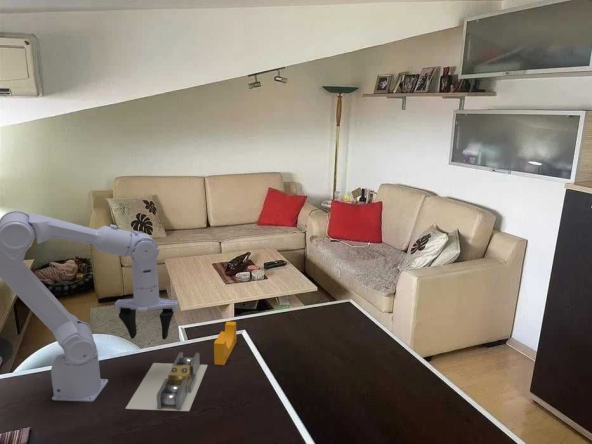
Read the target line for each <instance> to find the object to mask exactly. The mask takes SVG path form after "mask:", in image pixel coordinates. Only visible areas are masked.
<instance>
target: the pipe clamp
mask: <svg viewBox="0 0 592 444" xmlns="http://www.w3.org/2000/svg"><path fill="white" fill-rule="evenodd" d="M236 343H237V322H236V321H228V320H227V321H226V322H225V324H224V331H223V330H221V331H220V332H219V335H218V336H217V338H216V339H215V340H214V342H213V358H214V361H213V362H214V365H218V366H225V364H226V362H227V360H229V359H228V358H229V357H230V356H231V353H232V351H233V349H234V348H235V345H236Z"/></svg>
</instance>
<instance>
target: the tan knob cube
mask: <svg viewBox="0 0 592 444" xmlns="http://www.w3.org/2000/svg"><path fill="white" fill-rule="evenodd" d="M168 378H169V385H181V384H182V382H183V380H184V379H185V380H187V388H188V386H189V384H190V382H191V374H190V366H177V365H173V367H172V369H171V371H170V373H169V375H168Z"/></svg>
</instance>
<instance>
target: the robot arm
mask: <svg viewBox="0 0 592 444" xmlns="http://www.w3.org/2000/svg"><path fill="white" fill-rule="evenodd" d="M35 239H36V243H37V245H39V244H41V243H44V242H47V241H48V240H50V239H51V240H52V239H58V240H65V241H71V242H76V243H77V242H78V243H84V244H89V245H93V246H94V248H95V250H96V251H97V252H100V253H104V254H110V255H116V256H121V257H124V258H131V278H132V279H131V280H132V292H133V297H132V298H125V299H117V300H116V301H115V302H114V307H115V311H119V313H118V318H119V319H120V320H121V321H122V323H123V325H124V326H125V328H126V330H127V332H128V334H129V337H130V339H132V340H133V339H135V338H136V336H137V334H138V333H137V323H136V322H137V321H136V320H137V319H136V316H137V315H136V313H137V312H139V313H140V312H141V313H145V312H147V311H161V312H160V314H159V319H160V322H161V323H160V324H161V338H162V340H166V339H167V338H168V335H169V329H170V323H171V320H172V318H173V317H174V313H175V312H178V311H179V309H180V307H179V306H180V305H179V304H180V303H179V300H174V299H173V300H172V299H168V298H167V299H166V298H163V297H160V289H159V287H160V286H159V272H158V263H157V258H158V256H159V254H160V248H159V246H158V243H157V241H155V240H154V239H153V238H152V236H151V235H149V234H147V233H145V232H144V231H137V230H133V231H128V230H124V229H119V228H118V226H117V225H116V224H112V223H111V224H110V226H108V225H103V226H101V227H99V228H96V229H95V228H92V227H88V226H84V225H80V224H76V223H73V222H69V221H65V220H62V219H57V218H54V217H49V216H46V215H44V214H43V215H42V214H38V213H33V212H32V213H31V212H30V213H26V212H24V211H20V210H13V211H8V212H6V213H5V214H3V216H1V217H0V279H1V280H2V281H3V282H4V283H5V284H6V285H7V287H8V288H10V290H12V292H13V293H14V294H15V295H16V296H17V297H18V298H19V299H20V300H21V301H22V302H23V303H24V304H25V305H26V306H27V307H28V309H30V310H31V311H32V313H33V314H34V315H35V316H36V317H37V318H38V319H39V320H40V321H41V323H43V325H44V326H46V328H48V330H49V331H51V333H52V334H53V336H54V338H55V340H56V342H57V343H58V345H59V346H60V347H61V349H62V350H63V354H58V355H57V356H56V357H55V358H54V360H53V362H52V364H51V370H50V374H51V384H52V390H53V396H52V397H51V400H53V401H67V402H69V401H70V402H89V403H90V402H91V403H92V402H94V401H95V400H96V399H97V398H98V397H99V395H100V393H101V392H102V391H103V389H104V388H105V386H106V385H107V384H108V382H109V379H107V378H101V372H100V360H99V351H98V347H97V345H96V342H95V340H94V336H93V329H92V327H91V325H90V324H89V323H88V322H86V321H82V320H80V319H79V318H78V317H77V316H76V315H74V314H71V313H70V312H69V310H67V308H66V307H64V305H63V304H62V303H61V302H60V301H59V299H57V298H56V297H55V295H54V294H53V293H52V292H51V291H50V290H49V289H48V288H47V286H45V284H44V283H43V282H42V281H41V280H40V279H39V278H38V276H37V275H36V274H35V273H34V272H33V271H32V270H31V269H30V268H29V267H28V265H27V264H26V263H25V262H24V260H25V256H26V253H27V251H28V250H29V248H30V247H31V246H32V244H33V243H34V240H35ZM136 311H137V312H136Z"/></svg>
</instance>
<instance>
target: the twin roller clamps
mask: <svg viewBox="0 0 592 444" xmlns="http://www.w3.org/2000/svg"><path fill="white" fill-rule="evenodd" d="M200 363H201V362H200V353H199V352H196V353H195V354H194V356H193V357H184V352H183V351H179V352H178V354H177V357H176V358H175V360H174V362H173V363H172V364H173V365H177V366H190V374H191V382H190V384H189V386H188V390H187V380H185V379H184V380H183V382H182V384H181V385H169V378H167V379H165V380H164V382H163V384H162V386H161V388H160V390H159V391H158V393H157V409H162V407H163V405H176V408H177V410H180V409H181V407H182V405H183V403H184V400H185V398H186V396H187V393H191V391H192V389H193V386H194V384H195V382H196V373H197V370H198V368H199V366H200V365H201V364H200Z"/></svg>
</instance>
